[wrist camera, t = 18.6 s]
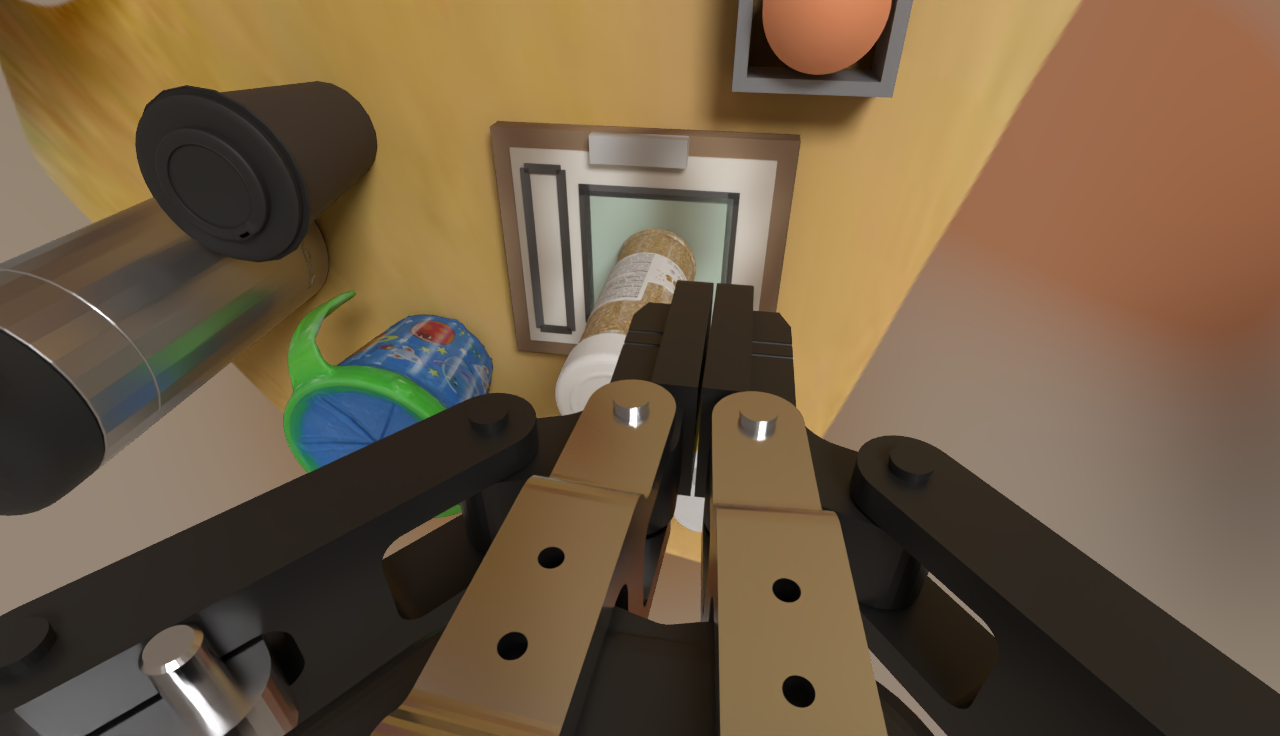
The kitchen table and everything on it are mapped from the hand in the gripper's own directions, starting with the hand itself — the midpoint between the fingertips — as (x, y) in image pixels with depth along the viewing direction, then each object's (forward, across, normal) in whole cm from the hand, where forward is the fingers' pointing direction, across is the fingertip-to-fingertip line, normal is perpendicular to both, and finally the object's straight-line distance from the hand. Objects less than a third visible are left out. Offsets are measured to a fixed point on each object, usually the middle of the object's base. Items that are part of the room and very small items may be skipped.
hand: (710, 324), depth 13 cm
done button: (+23, -3, -4) cm, 23 cm away
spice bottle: (+22, +4, +9) cm, 24 cm away
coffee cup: (+23, +23, +3) cm, 33 cm away
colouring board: (+23, +5, +9) cm, 25 cm away
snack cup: (+23, +19, +18) cm, 35 cm away
